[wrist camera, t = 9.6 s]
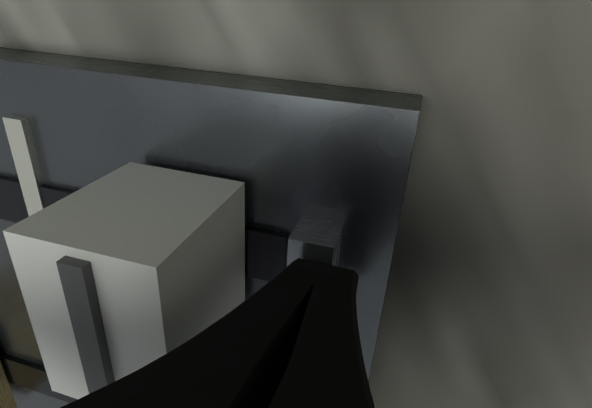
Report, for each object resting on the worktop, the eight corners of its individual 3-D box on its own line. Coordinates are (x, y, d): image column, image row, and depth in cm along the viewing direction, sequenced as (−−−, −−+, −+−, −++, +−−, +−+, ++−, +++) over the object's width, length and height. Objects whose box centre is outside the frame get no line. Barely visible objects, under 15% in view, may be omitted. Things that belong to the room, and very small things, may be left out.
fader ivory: (244, 317, 11) (170, 441, 8) (147, 292, 12) (44, 398, 9) (244, 182, 10) (148, 274, 6) (130, 162, 10) (-8, 236, 7)
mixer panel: (345, 501, 17) (331, 576, 14) (-43, 367, 21) (-97, 408, 19) (421, 95, 9) (417, 124, 7) (-194, 25, 14) (-308, 30, 12)
